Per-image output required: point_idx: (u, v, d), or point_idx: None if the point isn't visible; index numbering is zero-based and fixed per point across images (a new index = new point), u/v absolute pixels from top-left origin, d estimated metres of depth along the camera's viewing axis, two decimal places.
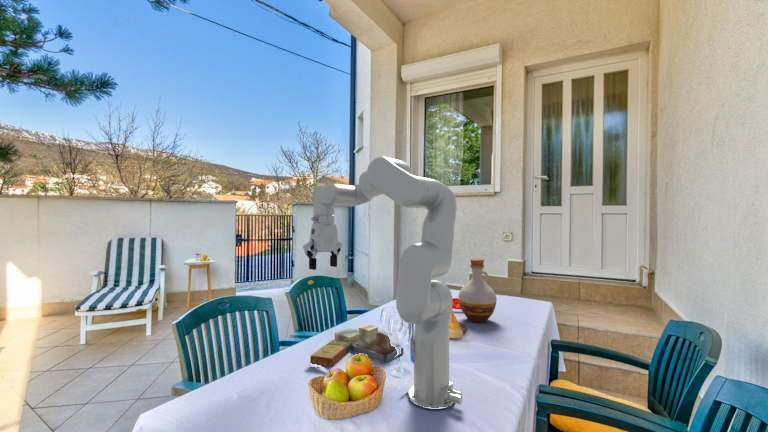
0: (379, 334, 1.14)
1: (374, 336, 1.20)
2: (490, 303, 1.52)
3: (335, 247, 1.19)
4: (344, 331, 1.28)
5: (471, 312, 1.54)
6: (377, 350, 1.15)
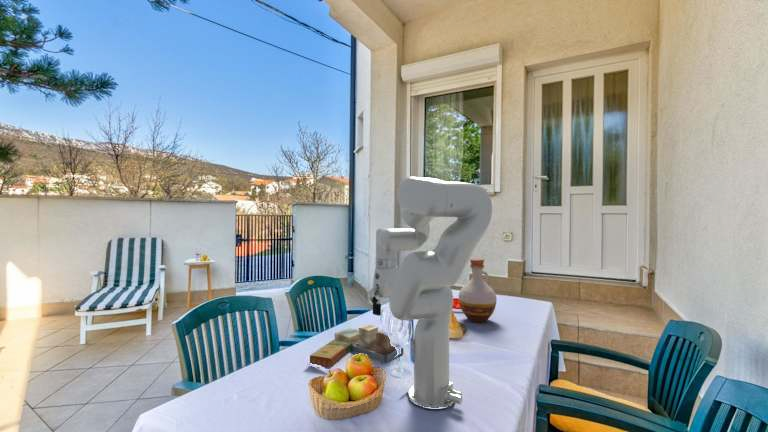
0: (379, 334, 1.14)
1: (374, 336, 1.20)
2: (490, 303, 1.52)
3: None
4: (344, 331, 1.28)
5: (471, 312, 1.54)
6: (377, 350, 1.15)
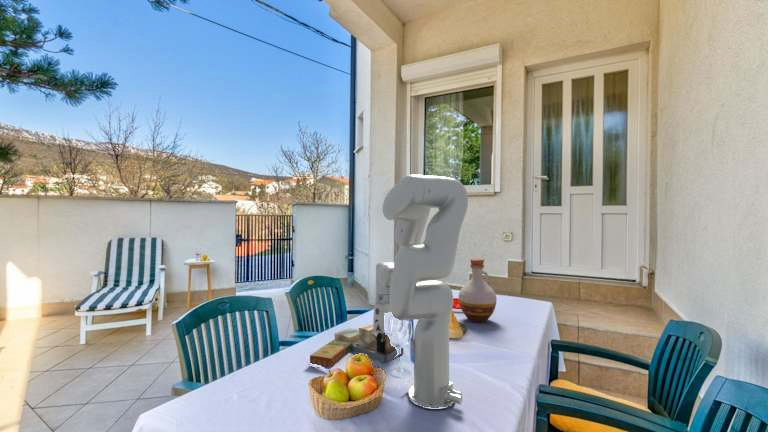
0: None
1: None
2: (490, 303, 1.52)
3: None
4: (344, 331, 1.28)
5: (471, 312, 1.54)
6: None
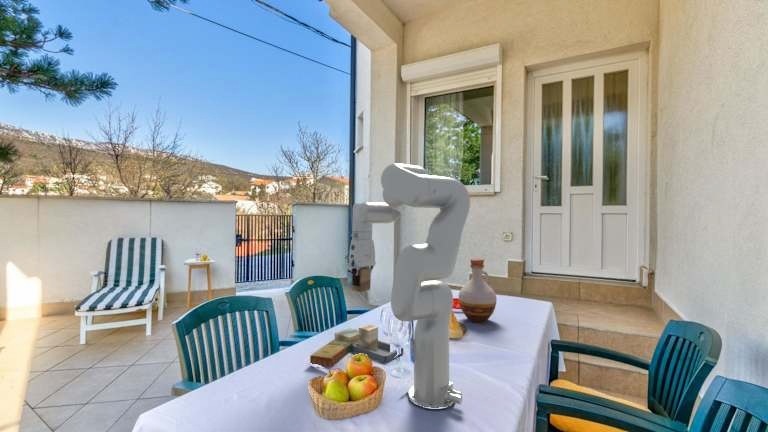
0: None
1: (374, 336, 1.20)
2: (490, 303, 1.52)
3: (372, 262, 1.24)
4: (344, 331, 1.28)
5: (471, 312, 1.54)
6: None
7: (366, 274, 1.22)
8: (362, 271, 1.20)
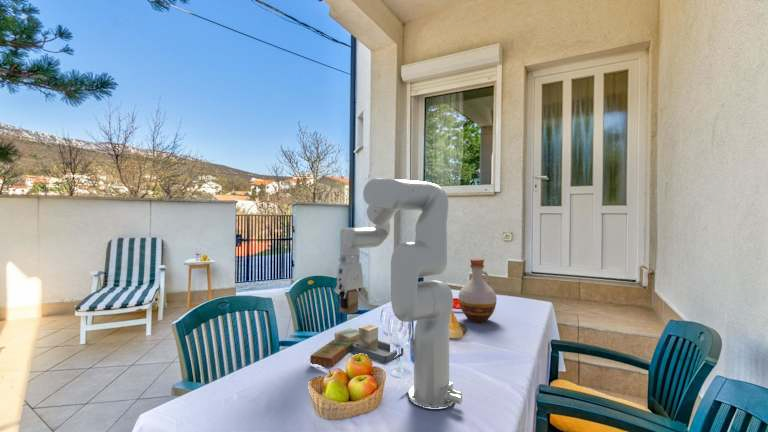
0: None
1: (374, 336, 1.20)
2: (490, 303, 1.52)
3: (360, 284, 1.28)
4: (344, 331, 1.28)
5: (471, 312, 1.54)
6: (340, 307, 1.27)
7: (354, 297, 1.26)
8: (350, 294, 1.24)
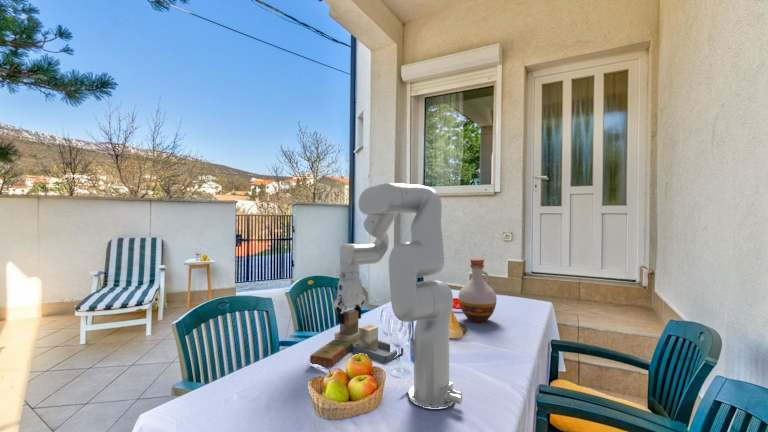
0: None
1: (374, 336, 1.20)
2: (490, 303, 1.52)
3: (360, 300, 1.28)
4: None
5: (471, 312, 1.54)
6: (341, 327, 1.27)
7: (353, 317, 1.26)
8: (349, 314, 1.24)
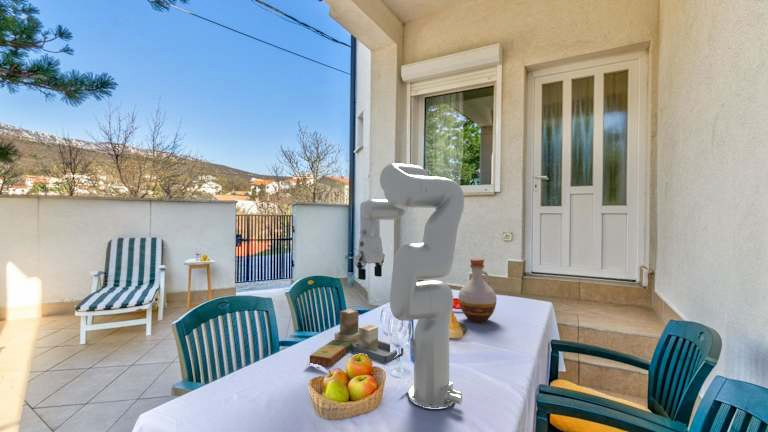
0: (342, 313, 1.26)
1: (374, 336, 1.20)
2: (490, 303, 1.52)
3: (380, 258, 1.28)
4: None
5: (471, 312, 1.54)
6: (341, 327, 1.27)
7: (353, 317, 1.26)
8: (349, 314, 1.24)
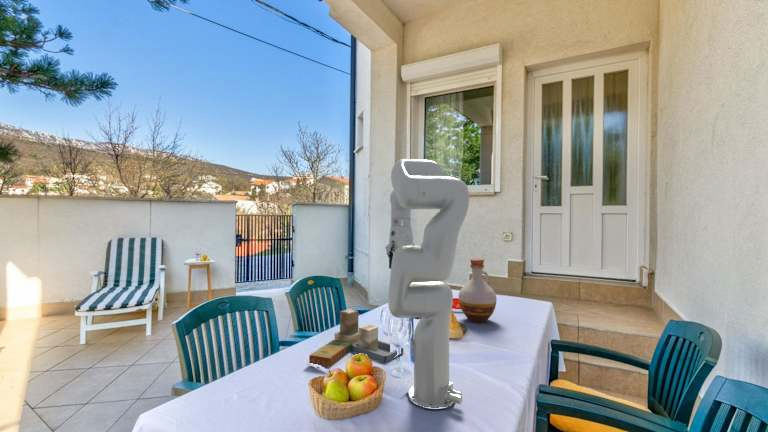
0: (342, 313, 1.26)
1: (374, 336, 1.20)
2: (490, 303, 1.52)
3: None
4: None
5: (471, 312, 1.54)
6: (341, 327, 1.27)
7: (353, 317, 1.26)
8: (349, 314, 1.24)
